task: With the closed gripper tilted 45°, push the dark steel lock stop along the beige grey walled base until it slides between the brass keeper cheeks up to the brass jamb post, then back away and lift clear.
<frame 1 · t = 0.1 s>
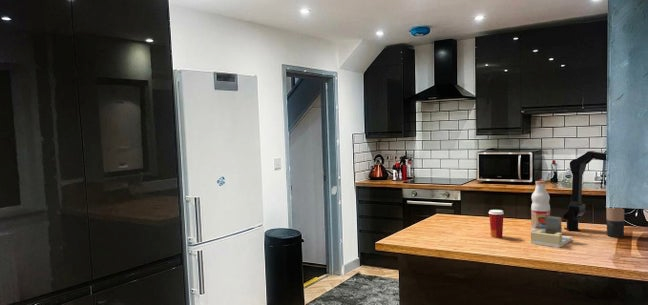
hand: (645, 210, 214), 15 cm above the worktop, tool pointing down, fingers open, 9 cm apart
travel mug: (615, 236, 226), on the worktop
beige grey walled base: (552, 240, 221), on the worktop
paper cup: (496, 237, 234), on the worktop
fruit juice: (540, 231, 242), on the worktop
lock stop: (553, 227, 222), point 7 cm above the worktop, slide at 0.0 cm
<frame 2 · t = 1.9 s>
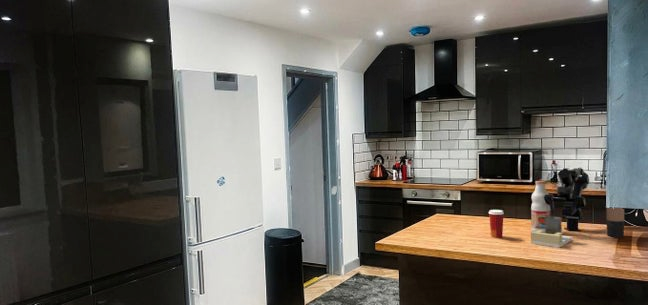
hand: (561, 213, 226), 13 cm above the worktop, tool tilted 45°, fingers open, 9 cm apart
nothing on the worktop moved.
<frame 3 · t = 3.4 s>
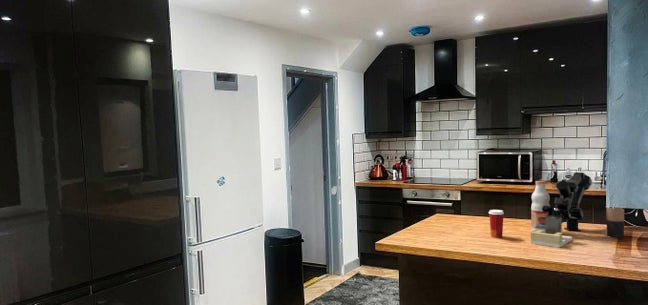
hand: (558, 225, 227), 7 cm above the worktop, tool tilted 45°, fingers closed
nothing on the worktop moved.
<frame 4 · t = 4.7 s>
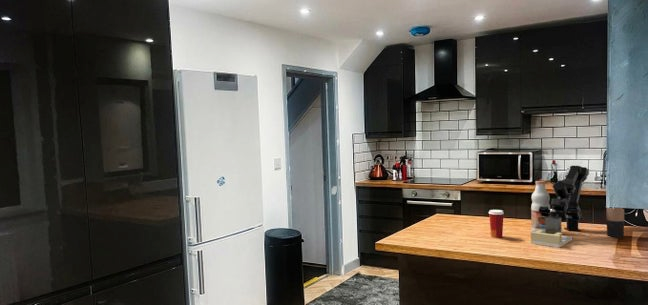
hand: (555, 226, 223), 7 cm above the worktop, tool tilted 45°, fingers closed, pressing on lock stop
lock stop: (553, 227, 222), point 7 cm above the worktop, slide at 0.1 cm, touching gripper
everything else where it was.
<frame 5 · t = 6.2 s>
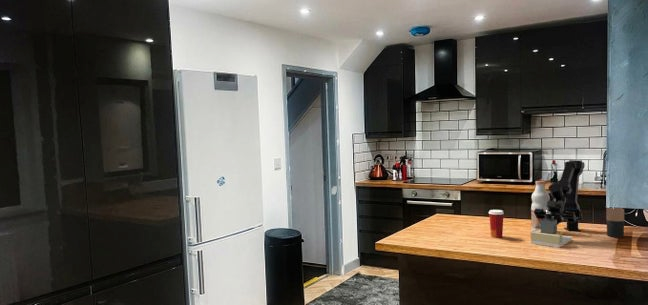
hand: (550, 228, 219), 7 cm above the worktop, tool tilted 45°, fingers closed
lock stop: (548, 229, 217), point 7 cm above the worktop, slide at 6.7 cm
everything else where it was.
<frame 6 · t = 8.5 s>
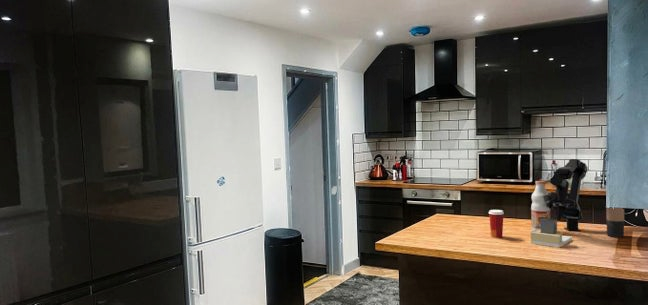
hand: (558, 220, 227), 9 cm above the worktop, tool tilted 25°, fingers closed
nothing on the worktop moved.
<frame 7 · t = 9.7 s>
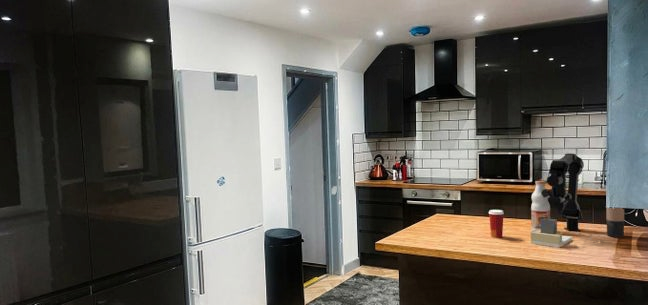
hand: (559, 214, 228), 12 cm above the worktop, tool pointing down, fingers closed
nothing on the worktop moved.
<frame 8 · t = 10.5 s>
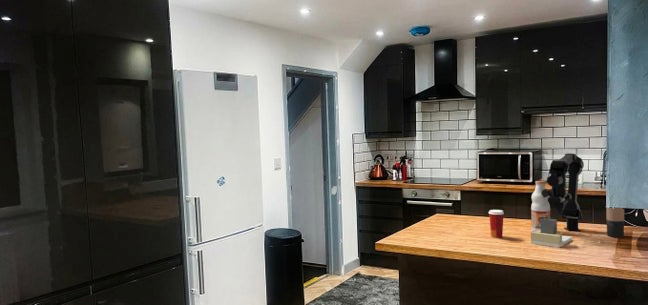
hand: (559, 214, 228), 12 cm above the worktop, tool pointing down, fingers closed
nothing on the worktop moved.
at the end: lock stop slide at 6.7 cm; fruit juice moved 0.2 cm from its start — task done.
